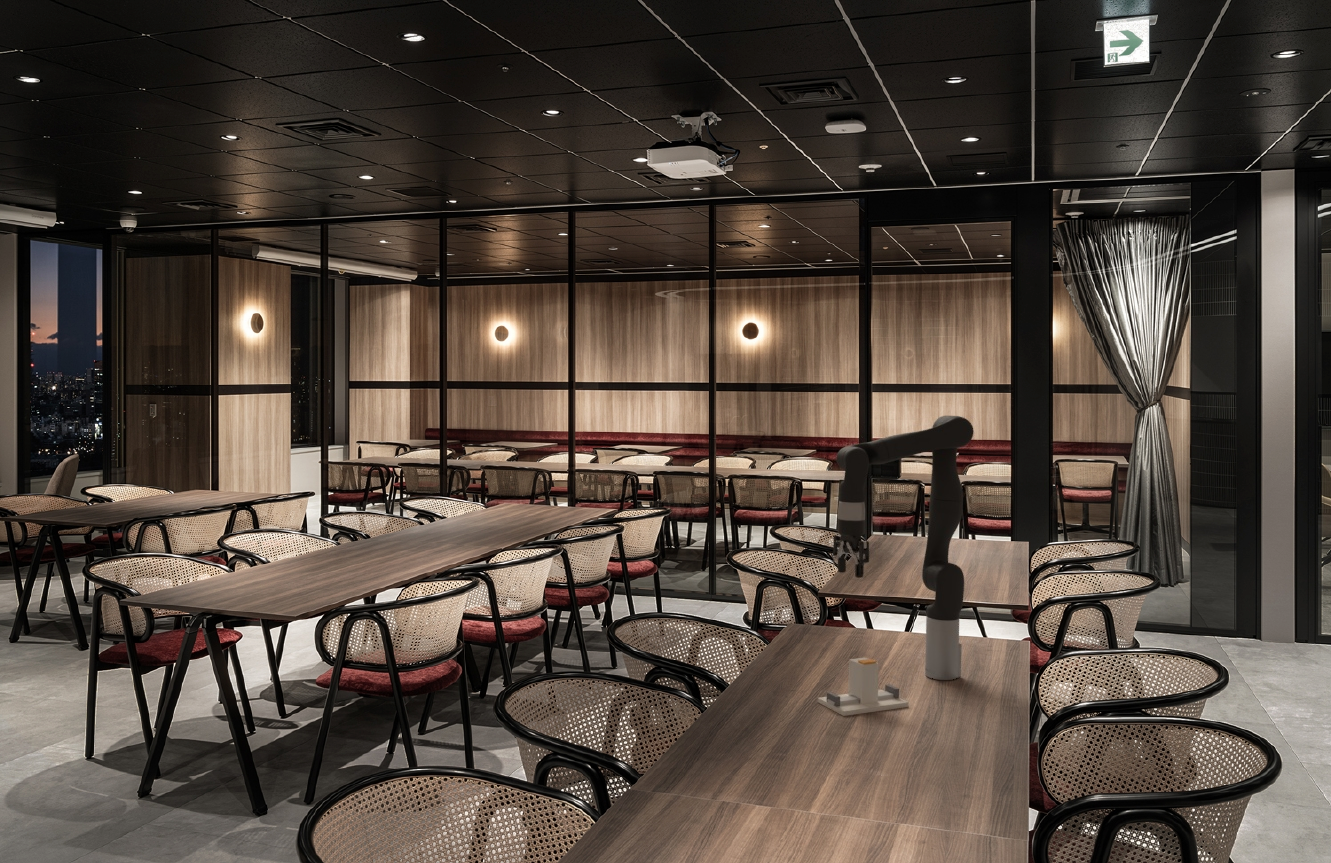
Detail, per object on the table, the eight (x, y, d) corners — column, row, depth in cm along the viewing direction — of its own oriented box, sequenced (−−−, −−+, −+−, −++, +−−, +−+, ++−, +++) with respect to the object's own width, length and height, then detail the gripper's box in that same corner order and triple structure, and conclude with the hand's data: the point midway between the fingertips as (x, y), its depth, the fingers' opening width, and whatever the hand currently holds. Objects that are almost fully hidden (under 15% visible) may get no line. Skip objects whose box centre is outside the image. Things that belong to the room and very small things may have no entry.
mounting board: (880, 693, 274) (881, 680, 274) (908, 706, 263) (908, 692, 263) (817, 702, 266) (818, 688, 266) (843, 715, 255) (844, 701, 255)
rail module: (864, 695, 268) (864, 655, 268) (877, 701, 263) (878, 661, 262) (848, 697, 266) (849, 657, 266) (861, 704, 261) (862, 663, 260)
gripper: (877, 520, 279) (876, 578, 280) (848, 514, 292) (847, 569, 293) (854, 521, 276) (853, 580, 277) (826, 515, 289) (825, 571, 290)
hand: (850, 574), depth 285 cm, fingers open, 8 cm apart
